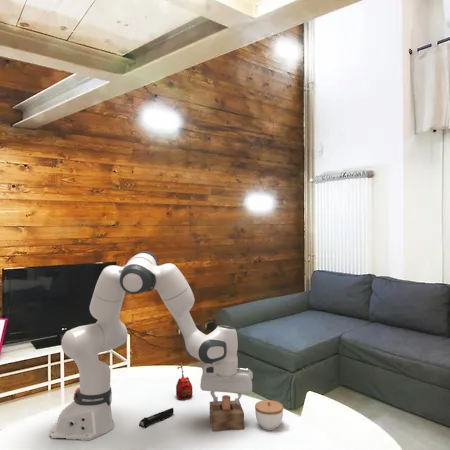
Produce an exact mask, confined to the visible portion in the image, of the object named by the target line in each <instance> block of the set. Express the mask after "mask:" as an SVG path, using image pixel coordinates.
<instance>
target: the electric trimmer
mask: <svg viewBox="0 0 450 450" xmlns="http://www.w3.org/2000/svg"><path fill="white" fill-rule="evenodd" d="M174 412H175V411H174V407H170V408H168V409H165V410H162V411H160V412H158V413H155V414H152V415H150V416H147V417H146V416H145V417H143V419H142V418H141V420H140V421H139V424H138V426H139V427H140V428H142V429H146V428H147V427H149V426H150V425H152V424H154V423H157V422H159V421H164V420H166V419H167V418H169V417H171V416H173V414H174Z"/></svg>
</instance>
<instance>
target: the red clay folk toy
mask: <svg viewBox="0 0 450 450" xmlns="http://www.w3.org/2000/svg"><path fill="white" fill-rule="evenodd" d="M183 367H184V364H182V362H180V365H179V366H177V370H179V369H180V368H181V377H180V378H178V380H177V382H176V385H175V395H176V396H175V397H176V398H177V399H178V401H180V400H181V401H183V400H184V401H185V400H190V399H192V397H193V392H194V391H193V384H192V382H191V380H190V378H189V377H188V376H186V377H185V375H184V370H183V369H184V368H183Z"/></svg>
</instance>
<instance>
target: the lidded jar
mask: <svg viewBox="0 0 450 450" xmlns="http://www.w3.org/2000/svg"><path fill="white" fill-rule="evenodd" d="M254 408H255V409H254V410H255V411H254V412H255V418H256V421H257V423H258V425H260V426H261V428H262V429H264V430H266V431H274V430H276V429H277V428H278V427H279V426H280V424H281V423H282V421H283V418H284V416H283V415H284V406H283V404H282V403H280V401H276V400H272V399H270V400H269V399H268V400H267V399H265V400H259V401H257V402H256V403H255V405H254Z"/></svg>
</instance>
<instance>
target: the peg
mask: <svg viewBox="0 0 450 450" xmlns="http://www.w3.org/2000/svg"><path fill="white" fill-rule="evenodd" d="M221 401H222V410H230V401H231V396H230V395H226V394H225V395H222V397H221Z"/></svg>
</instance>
